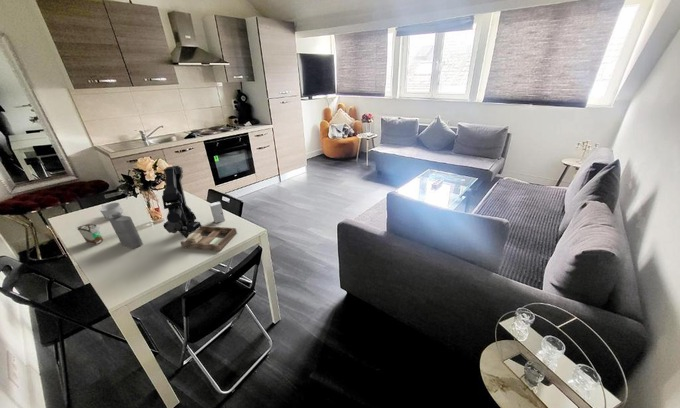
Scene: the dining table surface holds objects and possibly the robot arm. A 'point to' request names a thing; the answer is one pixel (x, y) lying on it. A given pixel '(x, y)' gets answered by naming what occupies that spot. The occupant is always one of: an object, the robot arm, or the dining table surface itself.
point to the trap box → (211, 238)
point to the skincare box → (217, 212)
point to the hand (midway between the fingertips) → (186, 238)
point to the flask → (125, 230)
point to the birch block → (194, 237)
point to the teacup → (110, 209)
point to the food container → (91, 233)
